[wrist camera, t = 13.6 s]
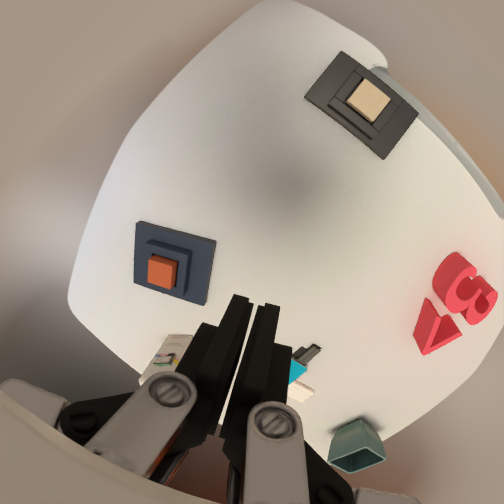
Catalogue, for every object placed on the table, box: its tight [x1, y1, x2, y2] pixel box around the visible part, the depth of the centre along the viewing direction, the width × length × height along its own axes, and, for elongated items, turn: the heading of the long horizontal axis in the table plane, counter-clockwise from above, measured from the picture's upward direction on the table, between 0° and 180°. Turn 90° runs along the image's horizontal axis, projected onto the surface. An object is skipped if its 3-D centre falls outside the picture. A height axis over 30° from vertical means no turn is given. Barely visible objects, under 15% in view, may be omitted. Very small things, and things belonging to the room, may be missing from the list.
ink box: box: [139, 335, 193, 386], centre depth 42 cm, size 8×5×12 cm, turn 11°
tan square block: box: [346, 79, 390, 122], centre depth 27 cm, size 4×4×2 cm
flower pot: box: [327, 419, 387, 473], centre depth 44 cm, size 9×9×9 cm
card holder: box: [287, 344, 321, 403], centre depth 45 cm, size 20×12×2 cm, turn 146°
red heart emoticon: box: [413, 252, 498, 355], centre depth 34 cm, size 14×10×5 cm
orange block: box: [148, 255, 177, 289], centre depth 38 cm, size 4×4×2 cm
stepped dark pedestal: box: [304, 51, 419, 160], centre depth 28 cm, size 12×8×2 cm, turn 55°
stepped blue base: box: [134, 221, 216, 306], centre depth 40 cm, size 12×10×3 cm
